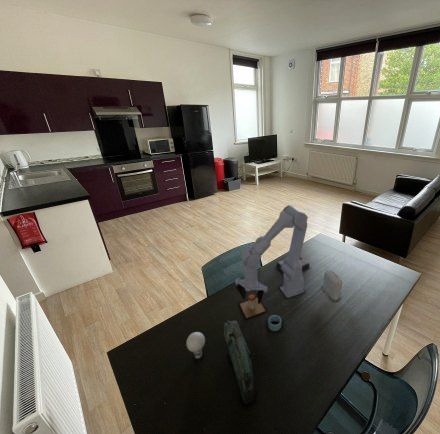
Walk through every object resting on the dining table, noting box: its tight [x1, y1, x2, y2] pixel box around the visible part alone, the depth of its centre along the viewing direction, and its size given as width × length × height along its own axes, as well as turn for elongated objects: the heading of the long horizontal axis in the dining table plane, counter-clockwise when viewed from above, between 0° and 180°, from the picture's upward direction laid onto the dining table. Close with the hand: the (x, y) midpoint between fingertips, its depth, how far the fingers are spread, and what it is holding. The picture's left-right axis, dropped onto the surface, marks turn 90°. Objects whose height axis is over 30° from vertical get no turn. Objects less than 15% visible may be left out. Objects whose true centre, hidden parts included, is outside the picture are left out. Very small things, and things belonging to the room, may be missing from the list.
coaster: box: [239, 297, 266, 319], centre depth 108 cm, size 9×9×1 cm
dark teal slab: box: [223, 319, 255, 405], centre depth 77 cm, size 20×6×20 cm, turn 23°
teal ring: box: [267, 314, 283, 332], centre depth 99 cm, size 5×6×3 cm
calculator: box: [276, 256, 310, 274], centre depth 133 cm, size 11×4×15 cm
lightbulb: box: [185, 331, 206, 360], centre depth 85 cm, size 6×6×11 cm
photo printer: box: [322, 268, 343, 301], centre depth 114 cm, size 10×4×12 cm, turn 23°
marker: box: [248, 293, 256, 309], centre depth 106 cm, size 3×3×6 cm
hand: (251, 299), depth 106 cm, fingers open, 7 cm apart
